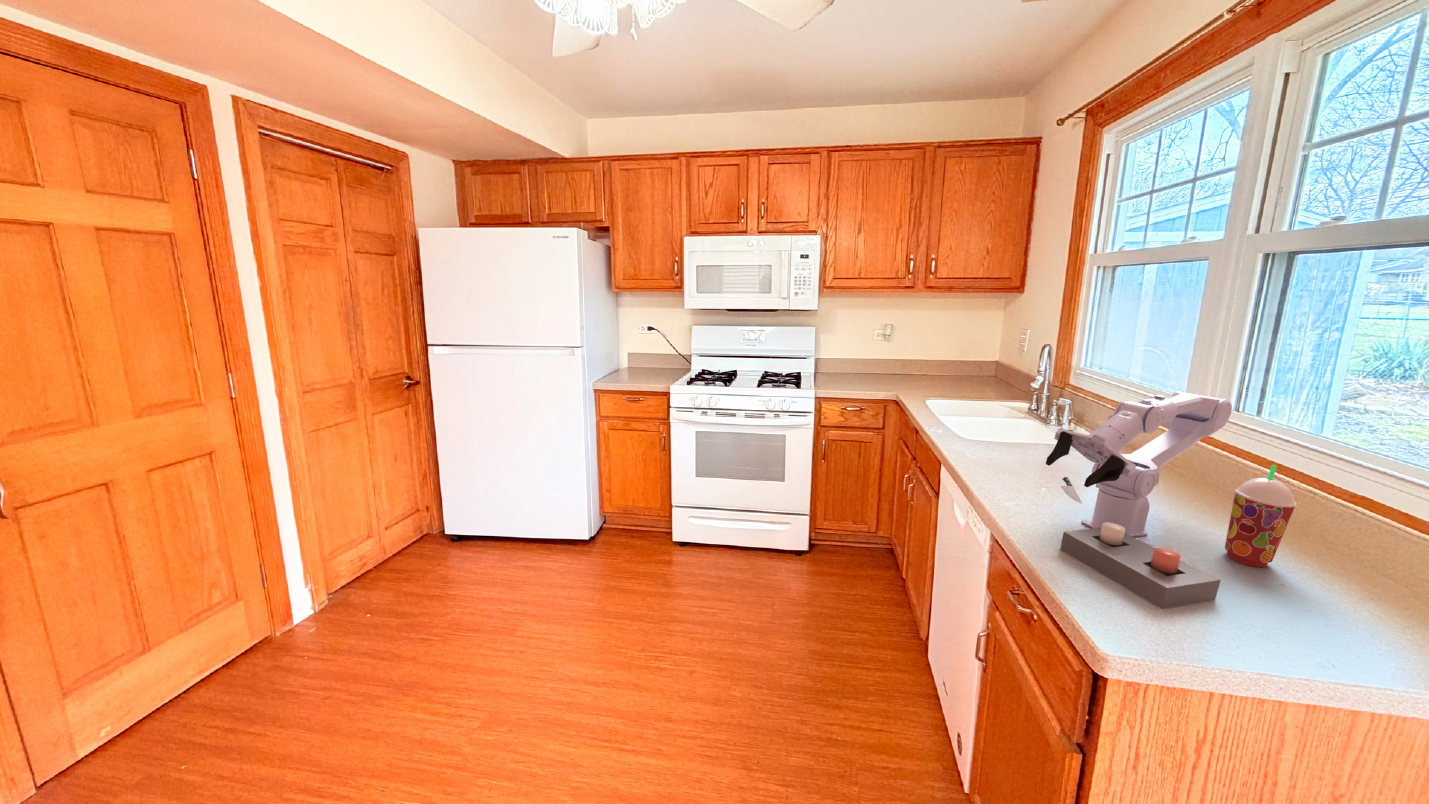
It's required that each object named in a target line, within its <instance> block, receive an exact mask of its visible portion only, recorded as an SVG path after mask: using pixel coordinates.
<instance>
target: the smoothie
mask: <svg viewBox="0 0 1429 804" xmlns="http://www.w3.org/2000/svg"><path fill="white" fill-rule="evenodd" d="M1277 467H1278V466H1277V465H1276V464H1272V465H1271V467H1270V470H1269V472H1268V476H1267V477H1255V478H1251V479H1249V480H1247V481H1245V482H1243V483H1242V484H1241V485H1240V486H1239V487H1237V488H1235V489H1234V496H1233V501H1232V507H1231V513H1230V517H1229V523H1228V529H1227V533H1226V538H1225V543H1224V544H1225V545H1224V548H1225V550H1226V555H1227V557H1229V558H1230V559H1231V560H1233V561H1235V562H1237V563H1240V564H1243V565H1245V566H1250V567H1255V568H1265V567H1266V566H1267V565H1268V564H1269V563H1272V562H1273V561H1274V558H1275V556H1276V553H1277V552H1278V549H1279V546H1280V544H1281V541H1282V539H1283V537H1284V533H1285V532H1286V529H1287V527H1288V524H1289V522H1290V520H1291V517H1292V515H1293V513H1294V510H1295V507H1296V506H1297V505H1298V504H1297V503H1298V502H1297V501H1296V500H1295V497H1294V495H1293V493H1292V491H1291V490H1290V488H1289V487H1288V486H1287V485H1286V484H1284V483H1283V482H1281V481H1279V480H1277V479H1274V476H1275V473H1276V471H1277Z"/></svg>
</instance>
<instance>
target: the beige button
mask: <svg viewBox="0 0 1429 804" xmlns="http://www.w3.org/2000/svg"><path fill="white" fill-rule="evenodd" d="M1124 533H1125V528H1124V527H1122V526H1120V525H1118V524H1114V523H1108V522H1106V523H1103V524H1102V528H1101V533H1100V540H1101V541H1103V542H1105V543H1108V544H1111V545H1122V542H1123V538H1124Z"/></svg>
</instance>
